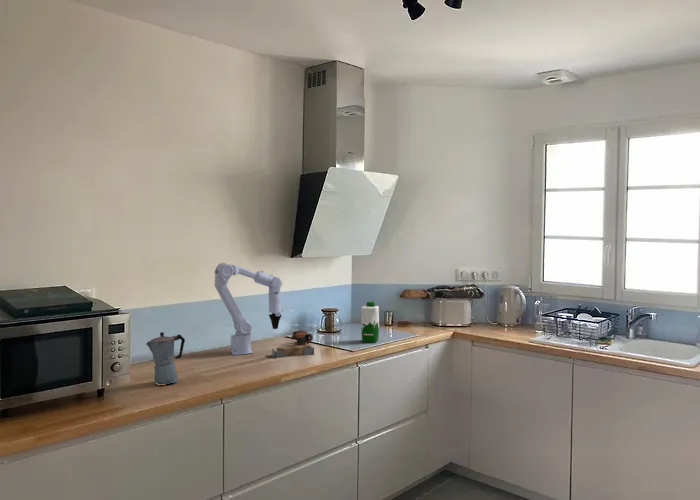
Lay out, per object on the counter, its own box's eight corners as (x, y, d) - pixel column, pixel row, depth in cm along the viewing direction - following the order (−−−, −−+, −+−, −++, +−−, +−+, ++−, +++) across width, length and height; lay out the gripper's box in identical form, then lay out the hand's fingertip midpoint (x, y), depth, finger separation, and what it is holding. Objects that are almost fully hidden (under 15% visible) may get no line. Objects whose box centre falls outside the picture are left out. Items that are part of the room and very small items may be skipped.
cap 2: (304, 355, 266) (304, 348, 266) (301, 352, 272) (300, 346, 272) (314, 354, 268) (313, 348, 267) (310, 351, 274) (310, 345, 274)
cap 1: (274, 358, 261) (274, 351, 261) (271, 354, 268) (271, 348, 268) (284, 357, 263) (284, 350, 263) (281, 354, 269) (281, 347, 269)
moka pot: (142, 384, 222) (140, 333, 221) (179, 376, 232) (177, 327, 231) (153, 389, 215) (152, 336, 214) (190, 380, 226) (189, 330, 225)
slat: (278, 358, 263) (278, 349, 263) (276, 356, 267) (276, 347, 266) (310, 355, 268) (310, 346, 267) (308, 353, 271) (307, 344, 271)
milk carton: (380, 339, 298) (379, 301, 297) (376, 343, 289) (376, 304, 288) (363, 339, 300) (363, 301, 299) (360, 342, 291) (359, 303, 290)
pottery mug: (288, 347, 285) (287, 332, 289) (297, 352, 293) (296, 337, 296) (309, 343, 281) (308, 327, 285) (318, 347, 289) (317, 332, 293)
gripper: (286, 302, 274) (286, 330, 274) (279, 298, 287) (280, 325, 288) (271, 303, 271) (272, 331, 272) (265, 299, 285) (266, 326, 286)
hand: (275, 328), depth 280 cm, fingers closed
